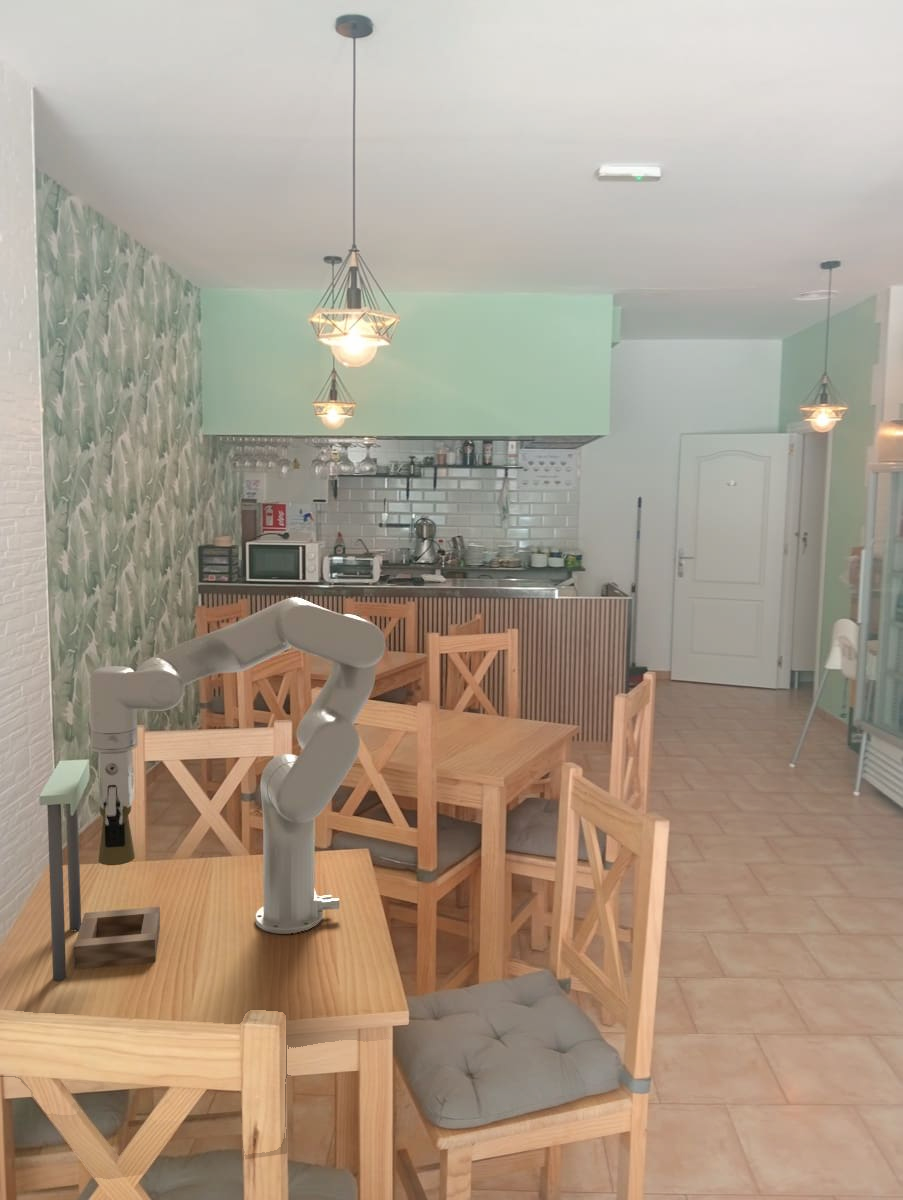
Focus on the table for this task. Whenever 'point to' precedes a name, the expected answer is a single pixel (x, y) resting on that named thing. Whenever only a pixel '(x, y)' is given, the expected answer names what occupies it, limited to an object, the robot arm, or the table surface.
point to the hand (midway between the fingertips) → (116, 840)
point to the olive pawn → (117, 853)
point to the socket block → (117, 938)
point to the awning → (61, 790)
